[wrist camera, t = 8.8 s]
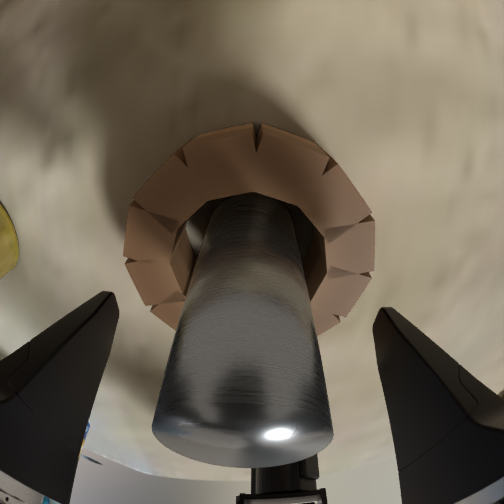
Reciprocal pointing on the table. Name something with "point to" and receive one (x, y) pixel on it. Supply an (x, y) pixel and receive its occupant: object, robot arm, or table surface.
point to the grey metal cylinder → (245, 348)
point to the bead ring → (244, 181)
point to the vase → (7, 243)
